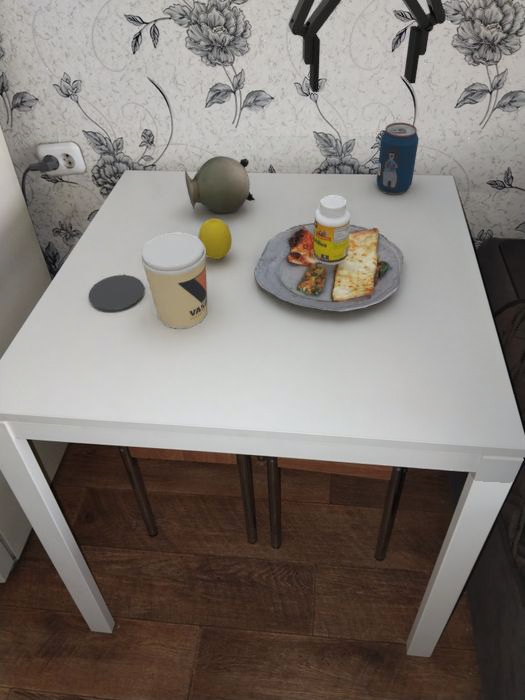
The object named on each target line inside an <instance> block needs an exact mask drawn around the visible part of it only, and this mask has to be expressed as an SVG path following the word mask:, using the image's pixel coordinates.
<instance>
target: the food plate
mask: <svg viewBox="0 0 525 700" xmlns="http://www.w3.org/2000/svg"><path fill="white" fill-rule="evenodd" d="M404 258H405V256H404V254H403V251H402V250H401V249H400V248H399V247H398V246H397V245H396V244H395V243H394V242H392V241H390V240H389V239H388V238H387V237H385V235H383V234H381V233H380V230H379V228H378V227H373V228H366V227H364V226H361V225H355V224H350V230H349V242H348V253H347V257H346V259H345V260H344V261H343V262H341V263H339V264H335V265H327V264H323V263H321V262H319V261H317V260H316V258H315V257H314V222H313V223H312V222H310V223H304V224H298V225H294V226H292V227H290V228H289V229H286V230H285V231H283V232H281V231H280V232H279V233H278V234H277V235H275V236H274V237H272V238H270V239H269V240H268V241H267V243H266V245H265V247H264V249H263V251H262V253H261V255H260V258H259V259H258V261H257V263H256V266H255V268H254V272H253V273H254V278H255V280H256V282H257V284H258V285H259V287H261V288H262V289H263V290H265V291H266V292H267V293H271V294H272V295H273V296H275V297H277V298H278V299H280V300H282V301H284V302H287V303H289V304H294V305H296V306H300V307H305V308H309V309H315V310H318V311H320V310H321V311H323V310H324V311H331V312H350V311H353V310H358V309H359V310H360V309H363V308H369V307H371V306H374V305H376V304H378V303H381V302H382V301H384V300H386V299H387V298H389V297H390V296H391V295H393V294H394V293H395V292H397V290H398V288H399V286H400V280H401V275H402V270H403V264H404Z"/></svg>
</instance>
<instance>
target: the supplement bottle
mask: <svg viewBox="0 0 525 700" xmlns="http://www.w3.org/2000/svg"><path fill="white" fill-rule="evenodd" d="M351 219H352V218H351V211H350V210H348V208H347V200H346V198H345V197H343V196H341V195H337V194H328V195H325V196H323V197H322V198H321V199H320V202H319V207H318V208H317V210H315V213H314V222H313V223H314V257H315V258H316V260H317V261H319V262H321V263H323V264H327V265H335V264H339V263H341V262H343V261H344V260H345V259H346V257H347V253H348V242H349V230H350V225H351Z"/></svg>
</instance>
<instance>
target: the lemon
mask: <svg viewBox="0 0 525 700" xmlns="http://www.w3.org/2000/svg"><path fill="white" fill-rule="evenodd" d="M198 238H199V239H200V240H201V242H202V243H203V244H204V246H205V249H206V256H205V257H208V258H210V259H213V260H219V259H222V258H224V257H225V256H227V255H228V254H229V252H230V250H231V248H232V242H233V241H232V240H233V239H232V233H231V230H230V228H229V226H228V224H226V222H225V221H223V220H222V219H219V218H214V217H213V218H209V219H207V220H206V221H204V222H203V224H201V226H200V228H199V233H198Z"/></svg>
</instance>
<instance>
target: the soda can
mask: <svg viewBox="0 0 525 700" xmlns="http://www.w3.org/2000/svg"><path fill="white" fill-rule="evenodd" d="M417 130H418V129H417V127H416V126H415V125H413V124H410V123H407V122H392V123H390V124H388V125H386V126H385V129H384V132H383V133H382V135H381V138H380V144H379V145H380V147H379V154H378V155H379V156H378V164H377V171H376V172H377V173H376V184H377V186H378V188H379V190H380V191H381V192H383V193H385V194H388V195H401V194H404V193H406V192H407V191H408V189H409V188H410V187H411V186H412V184H413V178H414V170H415V165H416V160H417V159H416V158H417V152H418V146H419V135H418V133H417V132H418V131H417Z"/></svg>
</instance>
